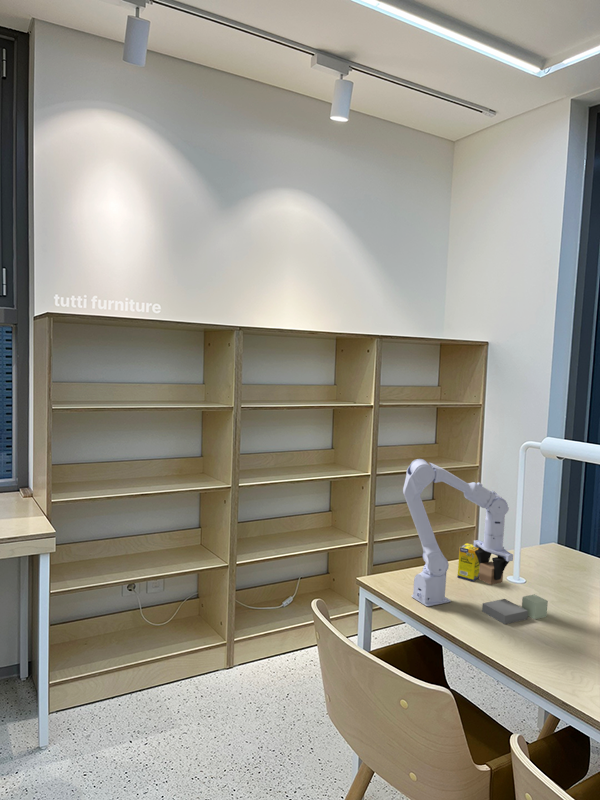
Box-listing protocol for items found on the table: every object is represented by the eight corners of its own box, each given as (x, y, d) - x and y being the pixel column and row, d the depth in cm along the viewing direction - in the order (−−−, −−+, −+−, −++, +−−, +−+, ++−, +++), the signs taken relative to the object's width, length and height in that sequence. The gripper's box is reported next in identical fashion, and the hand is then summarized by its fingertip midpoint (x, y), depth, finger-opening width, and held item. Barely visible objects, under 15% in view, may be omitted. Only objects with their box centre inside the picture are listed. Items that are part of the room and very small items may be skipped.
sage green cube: (534, 619, 175) (535, 603, 175) (521, 612, 180) (522, 596, 179) (546, 616, 177) (547, 600, 177) (533, 610, 182) (534, 594, 181)
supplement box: (473, 582, 202) (476, 550, 201) (456, 577, 205) (459, 546, 204) (480, 577, 207) (482, 546, 206) (463, 572, 210) (465, 542, 209)
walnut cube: (490, 584, 182) (491, 568, 182) (478, 578, 186) (479, 563, 186) (502, 582, 184) (503, 566, 184) (490, 576, 189) (491, 561, 188)
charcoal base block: (504, 625, 171) (505, 615, 171) (481, 612, 179) (482, 603, 179) (526, 620, 175) (527, 610, 175) (503, 608, 183) (504, 598, 183)
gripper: (521, 539, 179) (518, 582, 181) (486, 525, 192) (483, 566, 193) (504, 541, 176) (501, 586, 177) (469, 527, 189) (466, 569, 190)
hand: (490, 576), depth 185 cm, fingers closed on walnut cube, 5 cm apart
